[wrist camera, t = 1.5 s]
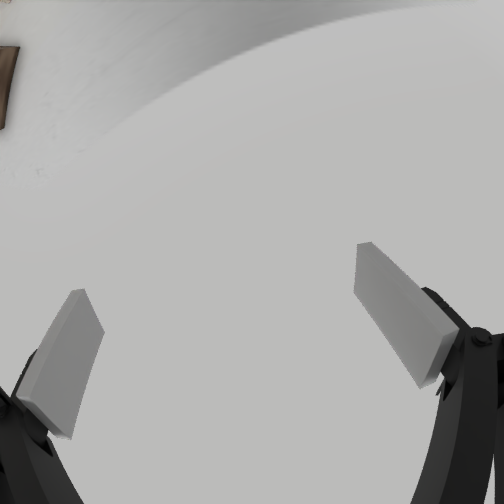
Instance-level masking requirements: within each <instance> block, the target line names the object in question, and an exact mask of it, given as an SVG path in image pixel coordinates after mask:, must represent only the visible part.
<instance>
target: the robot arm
mask: <svg viewBox="0 0 504 504" xmlns="http://www.w3.org/2000/svg"><path fill="white" fill-rule="evenodd" d="M354 294H355V295H356V296H357V298H358V299H359V300H360V302H361V303H362V305H363V306H364V307H365V309H366V310H367V311H368V313H369V314H370V316H371V317H372V318H373V320H374V321H375V323H376V324H377V325H378V327H379V329H380V330H381V331H382V333H383V334H384V336H385V337H386V339H387V340H388V341H389V343H390V345H391V346H392V347H393V349H394V350H395V352H396V353H397V355H398V356H399V358H400V359H401V361H402V362H403V364H404V365H405V367H406V368H407V370H408V372H409V373H410V375H411V376H412V378H413V379H414V381H415V382H416V384H417V386H418V387H419V389H421V388H423V387H426V386H428V385H430V384H432V383H434V382H435V381H436V379H437V377H438V375H439V373H440V372H441V373H442V374H443V376H444V377H445V378H444V380H443V382H442V383H441V386H440V387H439V389H438V391H437V393H436V395H438V394H439V393H440V391H441V394H440V400H439V405H438V411H437V416H436V420H435V425H434V430H433V434H432V438H431V442H430V446H429V449H428V453H427V457H426V460H425V463H424V467H423V470H422V473H421V476H420V479H419V482H418V485H417V488H416V490H415V493H414V496H413V498H412V501H411V503H410V504H484V500H485V496H486V492H487V488H488V483H489V478H490V473H491V467H492V461H493V454H494V468H495V504H504V333H502V334H496V335H492V334H491V333H490V332H489V331H487V330H486V329H483V328H480V327H473V328H471V327H470V326H469V325H468V324H467V323H466V322H465V321H464V320H463V319H462V318H461V317H460V316H459V315H458V314H457V313H456V312H455V311H454V310H453V309H452V308H451V307H449V305H448V304H447V303H446V302H445V301H444V300H443V299H442V298H441V297H440V296H439V295H438V294H437V293H436V292H434V291H433V290H431V289H429V288H427V287H424V288H420V287H419V286H418V285H417V284H416V283H415V282H414V281H413V280H411V278H409V276H408V275H406V274H405V273H404V272H403V271H402V270H401V269H400V268H399V267H398V266H397V265H396V264H395V263H394V262H393V261H392V260H390V259H389V258H388V257H387V256H386V255H385V254H384V253H383V252H382V251H381V250H380V249H379V248H377V247H376V246H375V245H374V244H373V243H372V242H368V243H362V244H357V258H356V272H355V285H354ZM103 335H104V330H103V328H102V326H101V324H100V322H99V320H98V318H97V316H96V314H95V312H94V309H93V307H92V305H91V303H90V301H89V299H88V296H87V294H86V292H85V290H84V289H79V290H73V291H71V293H70V294H69V296H68V298H67V299H66V301H65V303H64V304H63V306H62V307H61V309H60V311H59V312H58V314H57V316H56V317H55V319H54V321H53V323H52V324H51V326H50V328H49V329H48V331H47V333H46V335H45V337H44V338H43V340H42V342H41V344H40V346H39V348H38V349H36V351H35V352H34V353H33V354H32V355H31V356H30V357H29V359H28V361H27V363H26V365H25V368H24V369H23V371H22V374H21V375H20V377H19V379H18V381H17V383H16V386H15V388H14V390H13V392H12V394H11V397H9V396H8V395H7V394H6V393H5V392H4V391H3V389H2V388H1V387H0V504H84V503H83V501H82V500H81V498H80V496H79V495H78V493H77V491H76V489H75V488H74V486H73V484H72V482H71V480H70V479H69V477H68V475H67V473H66V471H65V469H64V467H63V465H62V463H61V461H60V459H59V457H58V454H57V452H56V450H55V448H54V446H53V443H52V441H51V440H50V438H49V437H48V436H47V433H48V430H49V431H50V432H51V433H52V434H54V435H55V436H56V437H57V438H62V439H68V440H71V439H72V434H73V430H74V427H75V423H76V419H77V415H78V412H79V408H80V405H81V401H82V398H83V394H84V391H85V388H86V384H87V381H88V378H89V375H90V372H91V369H92V366H93V363H94V360H95V357H96V355H97V352H98V349H99V346H100V343H101V341H102V338H103Z"/></svg>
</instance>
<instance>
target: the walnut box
mask: <svg viewBox="0 0 504 504" xmlns="http://www.w3.org/2000/svg"><path fill="white" fill-rule="evenodd" d="M19 49H20V47H12V46H0V130H1V129H3V128H4V126H5V117H6V110H7V103H8V97H9V92H10V86H11V81H12V77H13V72H14V68H15V64H16V60H17V56H18V52H19Z"/></svg>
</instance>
